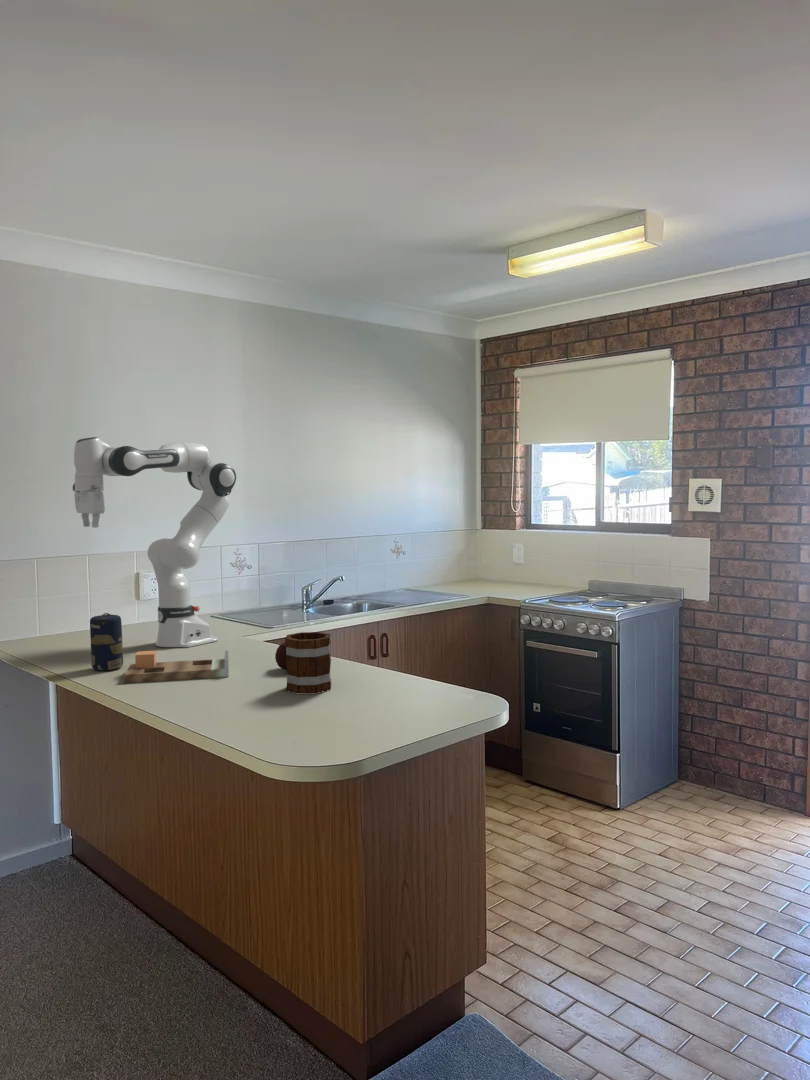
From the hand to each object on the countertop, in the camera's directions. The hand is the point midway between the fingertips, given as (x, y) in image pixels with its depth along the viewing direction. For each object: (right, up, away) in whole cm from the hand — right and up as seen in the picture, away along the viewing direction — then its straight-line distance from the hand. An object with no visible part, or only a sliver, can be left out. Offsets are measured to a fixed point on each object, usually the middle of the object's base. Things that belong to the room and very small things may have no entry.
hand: (90, 527), depth 265 cm
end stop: (+50, -46, -18) cm, 70 cm away
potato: (+70, -46, -17) cm, 85 cm away
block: (+25, -43, -20) cm, 54 cm away
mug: (+79, -47, -37) cm, 99 cm away
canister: (+10, -46, -12) cm, 49 cm away
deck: (+36, -46, -21) cm, 62 cm away
